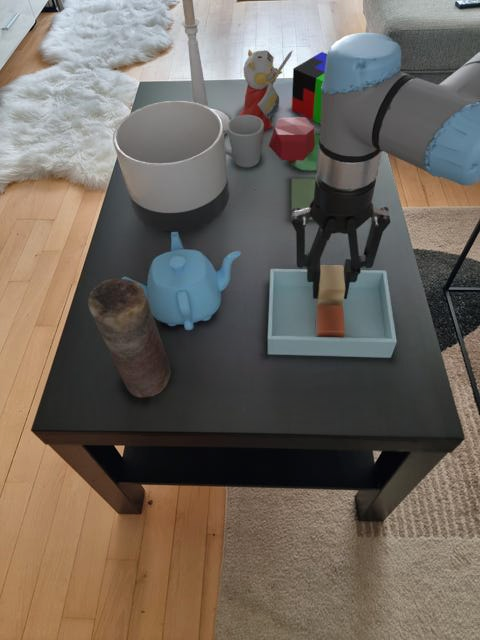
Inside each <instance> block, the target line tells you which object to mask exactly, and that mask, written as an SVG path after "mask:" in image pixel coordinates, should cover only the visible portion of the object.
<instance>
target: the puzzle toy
mask: <svg viewBox="0 0 480 640" xmlns="http://www.w3.org/2000/svg"><path fill="white" fill-rule="evenodd" d="M327 54H328V53H326V52H324V51H321V52H319V53H318V54H316V55H314V56H312V57H310V58H308V59H307V60H305V61H304V62H302V63H300V64H299V65H296V66H295V67H293V69H292V95H291V111H293V112H295V113H297V114H298V115H301V116H302V117H306V119H310V120H311V121H314V122H316V123H317V124H319V125H321V100H322V90H321V86H322V83H323V80H324V73H325V65H326V58H327Z"/></svg>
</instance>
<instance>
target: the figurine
mask: <svg viewBox="0 0 480 640" xmlns="http://www.w3.org/2000/svg"><path fill="white" fill-rule="evenodd" d="M292 54H293V50H291V51H289V53H288V54H287V55H286V57H285V58H284V59H283V61H282V63H281V64H280V65H279V67H278V68H277V67H275V66H274V60H275V59H274V56H273V55H272V53H270V51H269V50H268V49H267V50H266V49H265V50H264V49H263V50H257V51H252V50H251V49H248V51H247V55H248V57H247V58H246V60H245V62H244V66H243V77H244V80H245V82H246V84H247V85H246V86H247V87H246V91H245V96H244V105H243V108H242V110H240V112H239V115H238V116H241V115H253V116H256V117H259V118H260V119H261V120H262V121H263V123H264V129H263V131H266V130H269V129H273V125H272V123H271V118H272V117H273V116H274V115H275V114H276V113H277V112H278V110H279V107H280V96H279V94H278V93H277V91H276V89H275V88H274V84H275V82H276V81H277V79H278V77H279V75H281V74H283V71H282V70H283V69H284V67H285V66H286V64H287V62H288V61H289V60H290V58H291V57H292Z"/></svg>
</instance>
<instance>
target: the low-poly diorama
mask: <svg viewBox="0 0 480 640" xmlns="http://www.w3.org/2000/svg"><path fill="white" fill-rule="evenodd" d="M315 132H316V131H315V127H314V125H313V124H312V123H311V122H310V121H309V120H308V118H307V117H305V116H302V117H301V116H293V117H292V116H281V117H279V118H278V119H277V122H276V124H275V127H274V129H273V131H272V134H271V137H270V140H269V144H268V147H269V149H270V150H271V151H272V152H273V153H274V154H275V155H276V156H277V157H278V158H279V160H280V161H289V165H290V166H292V167H294V168H296V169H298V170H300V171H311V172H312V171H313V172H315V171H316V166H317V155H318V144H319V135H320V134H315Z"/></svg>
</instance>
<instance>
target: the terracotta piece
mask: <svg viewBox="0 0 480 640" xmlns="http://www.w3.org/2000/svg"><path fill="white" fill-rule="evenodd" d="M315 330H316V337H337V338H344V333H345V327H344V313H343V306H333V305H317V312H316V320H315Z"/></svg>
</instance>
